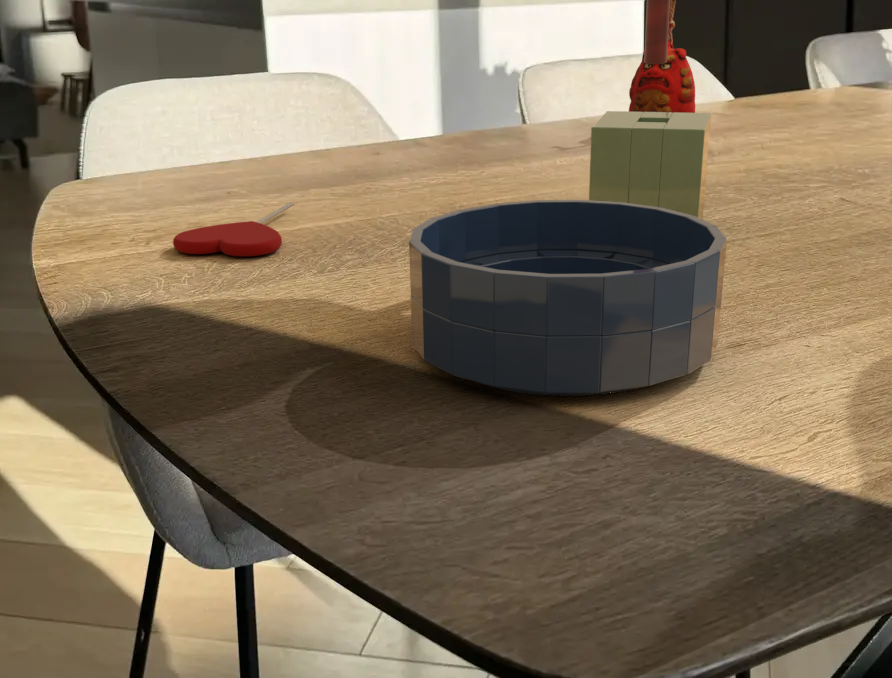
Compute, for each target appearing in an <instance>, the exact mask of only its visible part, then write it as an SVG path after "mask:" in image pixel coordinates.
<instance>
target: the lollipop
mask: <svg viewBox="0 0 892 678" xmlns="http://www.w3.org/2000/svg"><path fill="white" fill-rule="evenodd" d="M294 205H295V203H294V202H293V201H290V202H288V203H286V204H284V205H283V206H281V207H279V208H277V209H276V210H275V211H273V212H271V213H269V214H267V215H266V216H264V217H262V218H260V219H259V220H257V221H253V220H251V221H238V222H228V223H222V224H214V225H207V226H202V227H198V228H192V229H188V230H185V231H182V232H180V233H178V234H176V235H175V236H174V238H173V240H172V245H173V247H174V249H175V250H176V251H178V252H180V253H183V254H187V255H189V254H190V255H207V254H214V253H218V252H222V253H223V254H225V255H226V256H232V257H257V256H263V255H267V254H272V253H274V252H276V251H278V250H279V249H280V248H281V246H282V244H283V240H282V236H281V234H280V232H279V231H277V230H276V229H275V228H272V227H271V226H268V225H266V224H264V223H266V222H268V221H270V220H271V219H273V218H275V217H277V216H278V215H280V214H282V213H283V212H285V211H287V210H288V209H290V208H292V207H293V206H294Z"/></svg>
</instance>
